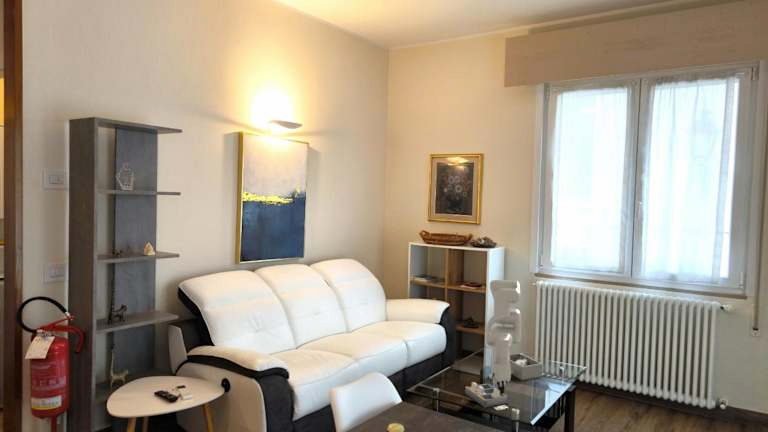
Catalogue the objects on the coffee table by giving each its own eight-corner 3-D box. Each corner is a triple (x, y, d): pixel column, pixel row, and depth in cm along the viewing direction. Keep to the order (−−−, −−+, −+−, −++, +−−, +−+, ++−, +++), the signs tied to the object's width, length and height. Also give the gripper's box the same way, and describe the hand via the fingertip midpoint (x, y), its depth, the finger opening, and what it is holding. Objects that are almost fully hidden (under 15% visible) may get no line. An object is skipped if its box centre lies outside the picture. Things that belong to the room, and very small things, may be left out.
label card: (504, 405, 284) (504, 404, 284) (508, 408, 281) (508, 407, 281) (493, 407, 281) (493, 407, 281) (497, 410, 278) (497, 409, 278)
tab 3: (497, 396, 292) (497, 387, 291) (501, 399, 288) (502, 390, 288) (491, 397, 290) (491, 388, 290) (495, 400, 286) (495, 391, 286)
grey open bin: (519, 364, 346) (520, 352, 345) (542, 376, 326) (542, 363, 325) (500, 367, 340) (500, 355, 340) (522, 380, 320) (522, 367, 319)
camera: (523, 376, 325) (524, 360, 324) (511, 374, 329) (512, 358, 328) (531, 369, 337) (531, 353, 337) (519, 366, 341) (519, 351, 341)
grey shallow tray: (487, 389, 306) (487, 382, 306) (508, 402, 287) (508, 396, 287) (465, 393, 300) (465, 386, 300) (484, 407, 282) (485, 400, 281)
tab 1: (475, 390, 300) (475, 381, 300) (479, 392, 296) (479, 384, 296) (469, 391, 299) (469, 382, 298) (473, 394, 295) (473, 385, 295)
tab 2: (481, 394, 295) (482, 385, 295) (486, 397, 291) (486, 388, 291) (475, 395, 293) (475, 386, 293) (479, 398, 290) (480, 389, 289)
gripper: (509, 355, 295) (508, 388, 296) (486, 359, 289) (485, 392, 290) (517, 360, 288) (516, 393, 289) (494, 363, 282) (493, 397, 283)
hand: (501, 392), depth 290 cm, fingers closed
